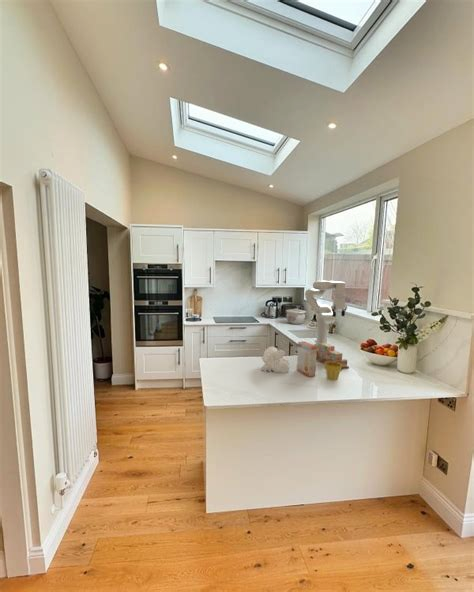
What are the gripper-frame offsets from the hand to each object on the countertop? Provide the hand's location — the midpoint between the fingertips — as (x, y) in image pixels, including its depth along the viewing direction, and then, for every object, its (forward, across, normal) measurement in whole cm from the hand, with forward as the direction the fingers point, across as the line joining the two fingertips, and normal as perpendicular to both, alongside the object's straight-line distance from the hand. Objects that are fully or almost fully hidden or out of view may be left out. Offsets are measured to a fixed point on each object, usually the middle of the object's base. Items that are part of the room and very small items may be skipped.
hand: (338, 316), depth 251 cm
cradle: (+32, +25, +19) cm, 45 cm away
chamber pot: (+33, -47, -129) cm, 141 cm away
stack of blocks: (+31, +25, +20) cm, 45 cm away
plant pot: (+32, +45, +46) cm, 72 cm away
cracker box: (+32, +56, +32) cm, 72 cm away
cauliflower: (+33, +74, +19) cm, 83 cm away
